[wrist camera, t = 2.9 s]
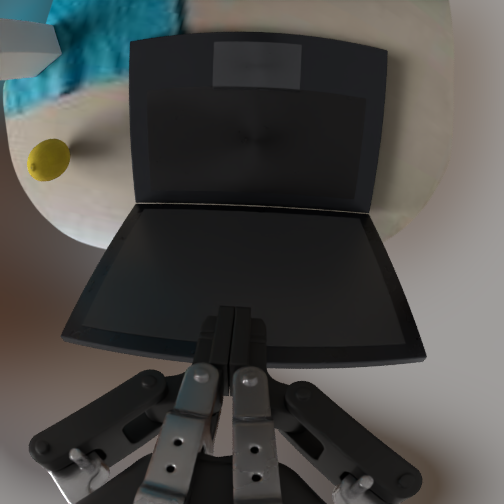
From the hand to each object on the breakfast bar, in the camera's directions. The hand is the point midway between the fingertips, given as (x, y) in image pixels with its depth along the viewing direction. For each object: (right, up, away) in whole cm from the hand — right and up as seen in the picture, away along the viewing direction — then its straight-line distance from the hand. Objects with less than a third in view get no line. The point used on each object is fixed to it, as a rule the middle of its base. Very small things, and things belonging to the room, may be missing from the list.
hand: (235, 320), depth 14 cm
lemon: (-26, +17, +21) cm, 37 cm away
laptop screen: (0, +2, +14) cm, 14 cm away
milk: (-29, +32, +13) cm, 45 cm away
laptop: (+1, +19, +19) cm, 27 cm away
